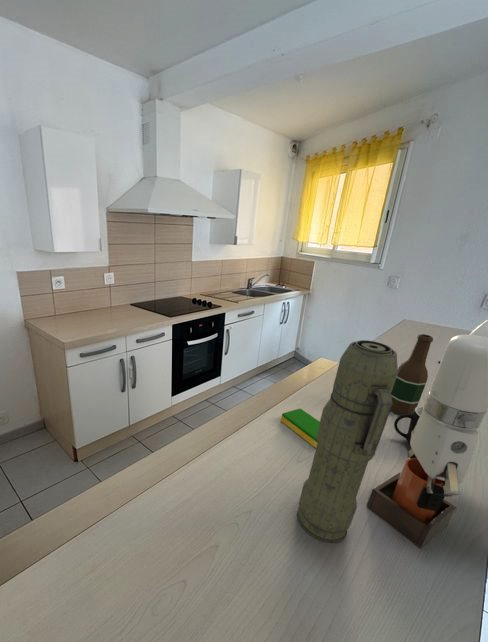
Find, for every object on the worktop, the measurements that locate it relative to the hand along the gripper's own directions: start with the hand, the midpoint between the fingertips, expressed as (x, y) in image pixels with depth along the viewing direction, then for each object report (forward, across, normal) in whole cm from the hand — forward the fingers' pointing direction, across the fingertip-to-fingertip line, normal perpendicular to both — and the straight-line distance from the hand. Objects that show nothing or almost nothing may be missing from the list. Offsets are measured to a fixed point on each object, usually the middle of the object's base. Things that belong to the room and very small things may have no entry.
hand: (418, 491), depth 60 cm
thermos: (+6, -6, +17) cm, 19 cm away
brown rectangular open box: (+6, 0, 0) cm, 6 cm away
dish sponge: (+6, +22, +17) cm, 28 cm away
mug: (+7, +24, -9) cm, 26 cm away
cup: (+5, 0, 0) cm, 5 cm away
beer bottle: (+7, +43, -12) cm, 45 cm away
